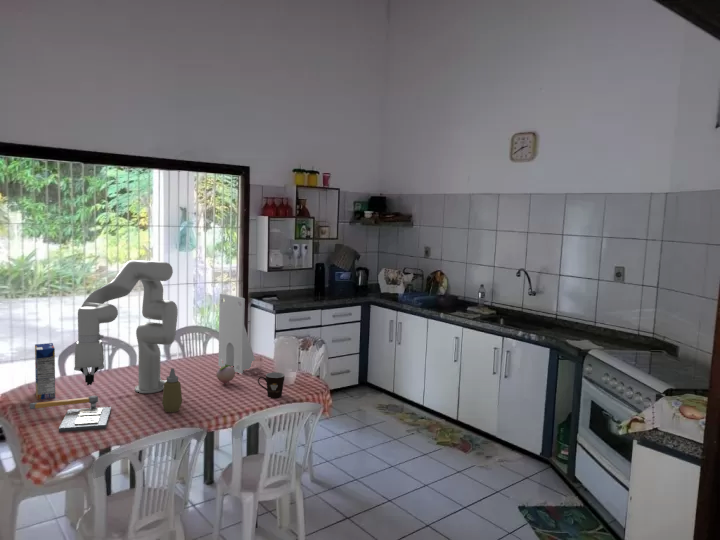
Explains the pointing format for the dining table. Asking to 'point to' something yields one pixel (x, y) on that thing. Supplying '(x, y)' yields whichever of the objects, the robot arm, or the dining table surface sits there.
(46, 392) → the beverage box
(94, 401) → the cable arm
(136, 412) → the dining table surface
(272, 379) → the coffee mug
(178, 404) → the squeeze bottle
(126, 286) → the robot arm
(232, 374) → the decorative fruit
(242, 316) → the white bracket plate
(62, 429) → the label base
